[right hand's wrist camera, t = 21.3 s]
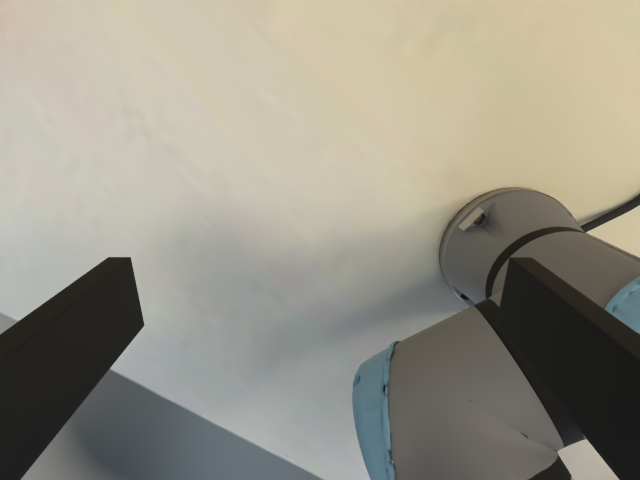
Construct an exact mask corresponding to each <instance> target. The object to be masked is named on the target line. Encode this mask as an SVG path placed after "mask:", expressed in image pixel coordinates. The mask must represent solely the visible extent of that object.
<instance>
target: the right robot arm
mask: <svg viewBox="0 0 640 480" xmlns="http://www.w3.org/2000/svg"><path fill="white" fill-rule="evenodd" d="M639 205H640V196H638V197H637V198H635V199H634V200H632V201H630V202H629V203H627V204H625V205H623V206H621V207H619V208H617V209H615V210H613V211H611V212H609V213H607V214H605V215H603V216H601V217H599V218H597V219H594V220H592V221H590V222H588V223H586V224H584V225H582V226H579V225H578V223H577V222H576V220H575V219H574V217H573V216H572V214H571V213H570V212H569V211H568V209H567V208H566V207H564V206H563V205H562V204H561V203H560V202H559V201H557V200H556V199H554V198H552V197H551V196H549V195H546V194H543V193H541V192H538V191H536V190H532V189H528V188H519V187H512V188H503V189H499V190H495V191H492V192H489V193H486V194H484V195H482V196H480V197H478V198H476V199H475V200H473V201H472V202H470V203H469V204H468V205H466V206H465V207H464V208H463V209H462V210H461V211H460V212H459V213H458V214H457V215H456V216H455V217H454V219H453V220H452V221H451V223H450V225H449V226H448V228H447V230H446V232H445V234H444V237H443V239H442V243H441V247H440V267H441V271H442V274H443V276H444V278H445V280H446V282H447V284H448V285H449V286H450V288H451V289H452V291H453V292H454V293H455V294H456V295H457V296H458V297H459V298H460V299H461V300H462V301H464V302H465V303H466V304H468V305H470V306H471V307H469V308H467V309H465V310H463V311H461V312H459V313H457V314H455V315H453V316H451V317H449V318H447V319H445V320H443V321H441V322H439V323H437V324H435V325H433V326H431V327H429V328H427V329H425V330H423V331H421V332H419V333H417V334H415V335H413V336H411V337H409V338H407V339H405V340H403V341H401V342H399V341H395V342H393V343H392V344H391V345H390V346H389V348H387V349H385V350H384V351H382V352H380V353H378V354H377V355H375V356H373V357H371V358H370V359H368V360H366V361H365V362H364V363H363V364H362V365H361V366H360V367H359V369H358V370H357V372H356V375H355V378H354V383H353V394H352V401H353V414H354V421H355V427H356V432H357V437H358V441H359V445H360V449H361V452H362V456H363V459H364V462H365V465H366V468H367V471H368V474H369V476H370V479H371V480H574V479H573V477H572V476H571V474H570V473H569V471H568V469H567V468H566V466H565V465H564V463H563V461H562V460H561V458H560V457H559V455H558V453H557V451H558V450H560V449H562V448H564V447H566V446H568V445H571V444H573V443H576V442H579V441H581V440H584V439H587V440H588V441H589V442H590V443H591V445H592V446H593V447H594V448H595V450H596V451H597V452H598V453H599V455H600V456H601V457H602V458H603V460H604V461H605V462H606V463H607V465H608V466H609V467H610V468H611V470H612V471H613V472H614V473H615V475H616V476H617V477H618V478H619V480H640V258H639V257H637V256H634V255H632V254H630V253H628V252H626V251H624V250H622V249H619V248H617V247H615V246H613V245H611V244H609V243H607V242H604V241H602V240H600V239H598V238H596V237H594V236H591V235H589V234H587V233H585V232H587V231H589V230H591V229H594V228H596V227H598V226H600V225H602V224H604V223H606V222H608V221H610V220H612V219H614V218H616V217H618V216H620V215H622V214H624V213H626V212H628V211H630V210H632V209H634V208H635V207H637V206H639ZM143 326H144V321H143V316H142V311H141V306H140V301H139V297H138V292H137V287H136V282H135V277H134V272H133V267H132V262H131V257H108V258H107V259H105V260H104V261H103V262H101V263H100V264H98V265H97V266H96V267H94V268H93V269H91V270H90V271H89V272H87V273H86V274H84V275H83V276H82V277H80V278H79V279H77V280H76V281H75V282H73V283H72V284H70V285H69V286H68V287H66V288H65V289H63V290H62V291H61V292H59V293H58V294H56V295H55V296H54V297H52V298H51V299H49V300H48V301H47V302H45V303H44V304H42V305H41V306H40V307H38V308H37V309H35V310H34V311H33V312H31V313H30V314H28V315H27V316H26V317H24V318H23V319H21V320H20V321H19V322H17V323H16V324H14V325H13V326H12V327H10V328H9V329H7V330H6V331H5V332H3V333H2V334H0V480H20V479H21V478H22V477H23V476H24V475H25V473H26V472H27V471H28V470H29V468H30V467H31V466H32V465H33V463H34V462H35V461H36V460H37V458H38V457H39V456H40V455H41V453H42V452H43V451H44V450H45V448H46V447H47V446H48V445H49V443H50V442H51V441H52V440H53V438H54V437H55V436H56V435H57V433H58V432H59V431H60V430H61V428H62V427H63V426H64V425H65V423H66V422H67V421H68V420H69V418H70V417H71V416H72V415H73V413H74V412H75V411H76V410H77V408H78V407H79V406H80V405H81V403H82V402H83V401H84V400H85V398H86V397H87V396H88V395H89V394H90V392H91V391H92V390H93V388H94V387H95V386H96V385H97V384H98V382H99V381H100V380H101V379H102V377H103V376H104V375H105V374H106V372H107V371H108V370H109V369H110V367H111V366H112V365H113V364H114V362H115V361H116V360H117V359H118V357H119V356H120V355H121V354H122V352H123V351H124V350H125V349H126V347H127V346H128V345H129V344H130V342H131V341H132V340H133V339H134V337H135V336H136V335H137V334H138V332H139V331H140V330H141V329H142V327H143Z"/></svg>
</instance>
